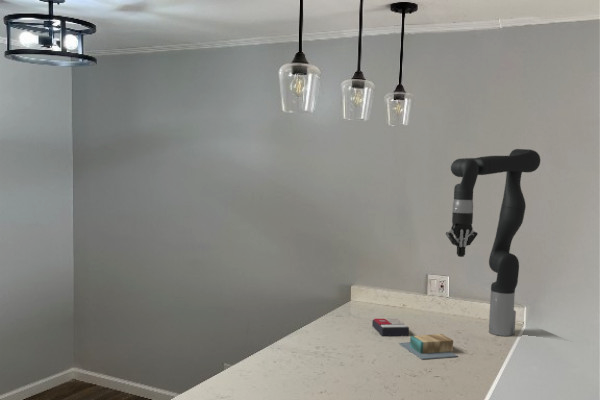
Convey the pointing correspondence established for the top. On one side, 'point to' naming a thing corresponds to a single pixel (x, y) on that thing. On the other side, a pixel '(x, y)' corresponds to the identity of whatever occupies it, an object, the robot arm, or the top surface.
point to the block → (431, 343)
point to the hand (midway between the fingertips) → (460, 256)
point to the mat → (428, 355)
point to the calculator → (390, 327)
